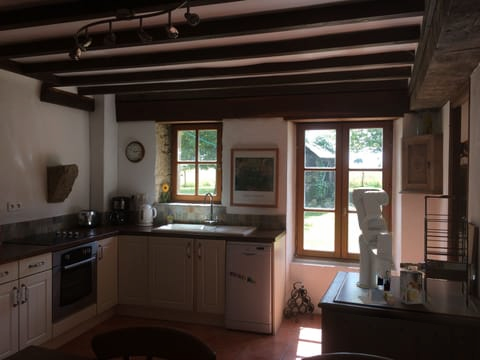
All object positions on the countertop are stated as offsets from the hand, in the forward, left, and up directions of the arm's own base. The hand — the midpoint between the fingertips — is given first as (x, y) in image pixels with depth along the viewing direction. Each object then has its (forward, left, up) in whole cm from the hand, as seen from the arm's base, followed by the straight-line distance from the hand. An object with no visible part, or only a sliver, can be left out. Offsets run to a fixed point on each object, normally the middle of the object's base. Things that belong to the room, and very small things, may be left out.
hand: (383, 288), depth 198 cm
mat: (0, -6, -6) cm, 9 cm away
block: (0, -1, -4) cm, 4 cm away
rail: (0, +2, -6) cm, 7 cm away
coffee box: (+2, +14, -7) cm, 15 cm away
